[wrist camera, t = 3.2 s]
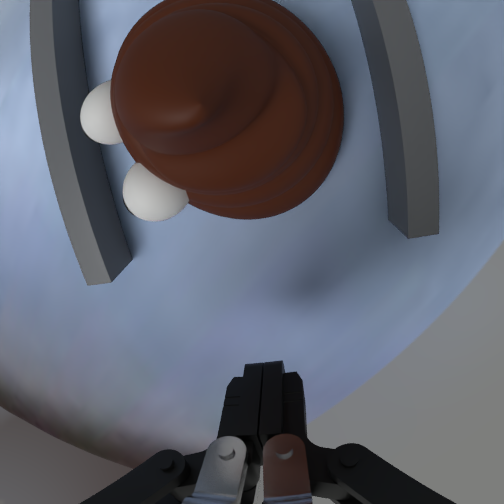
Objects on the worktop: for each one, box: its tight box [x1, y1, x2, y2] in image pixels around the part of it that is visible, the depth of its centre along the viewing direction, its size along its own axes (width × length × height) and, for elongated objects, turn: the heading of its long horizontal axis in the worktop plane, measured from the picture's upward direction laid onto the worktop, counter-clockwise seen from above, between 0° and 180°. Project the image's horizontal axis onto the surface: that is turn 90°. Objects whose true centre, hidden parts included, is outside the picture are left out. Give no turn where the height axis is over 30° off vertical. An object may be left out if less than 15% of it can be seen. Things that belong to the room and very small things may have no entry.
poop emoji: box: [80, 0, 344, 221], centre depth 8 cm, size 10×8×9 cm
